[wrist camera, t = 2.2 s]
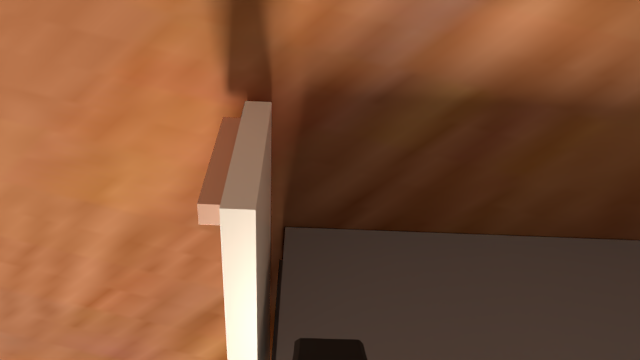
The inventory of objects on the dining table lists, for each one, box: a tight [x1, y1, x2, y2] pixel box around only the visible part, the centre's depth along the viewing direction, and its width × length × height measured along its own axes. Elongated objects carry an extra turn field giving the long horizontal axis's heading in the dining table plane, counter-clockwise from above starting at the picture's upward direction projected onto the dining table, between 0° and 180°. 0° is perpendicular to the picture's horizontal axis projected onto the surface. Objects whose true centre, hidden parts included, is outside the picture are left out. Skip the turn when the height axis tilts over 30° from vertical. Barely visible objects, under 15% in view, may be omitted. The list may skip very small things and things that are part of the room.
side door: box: [197, 101, 272, 360], centre depth 19 cm, size 15×1×6 cm, turn 177°
